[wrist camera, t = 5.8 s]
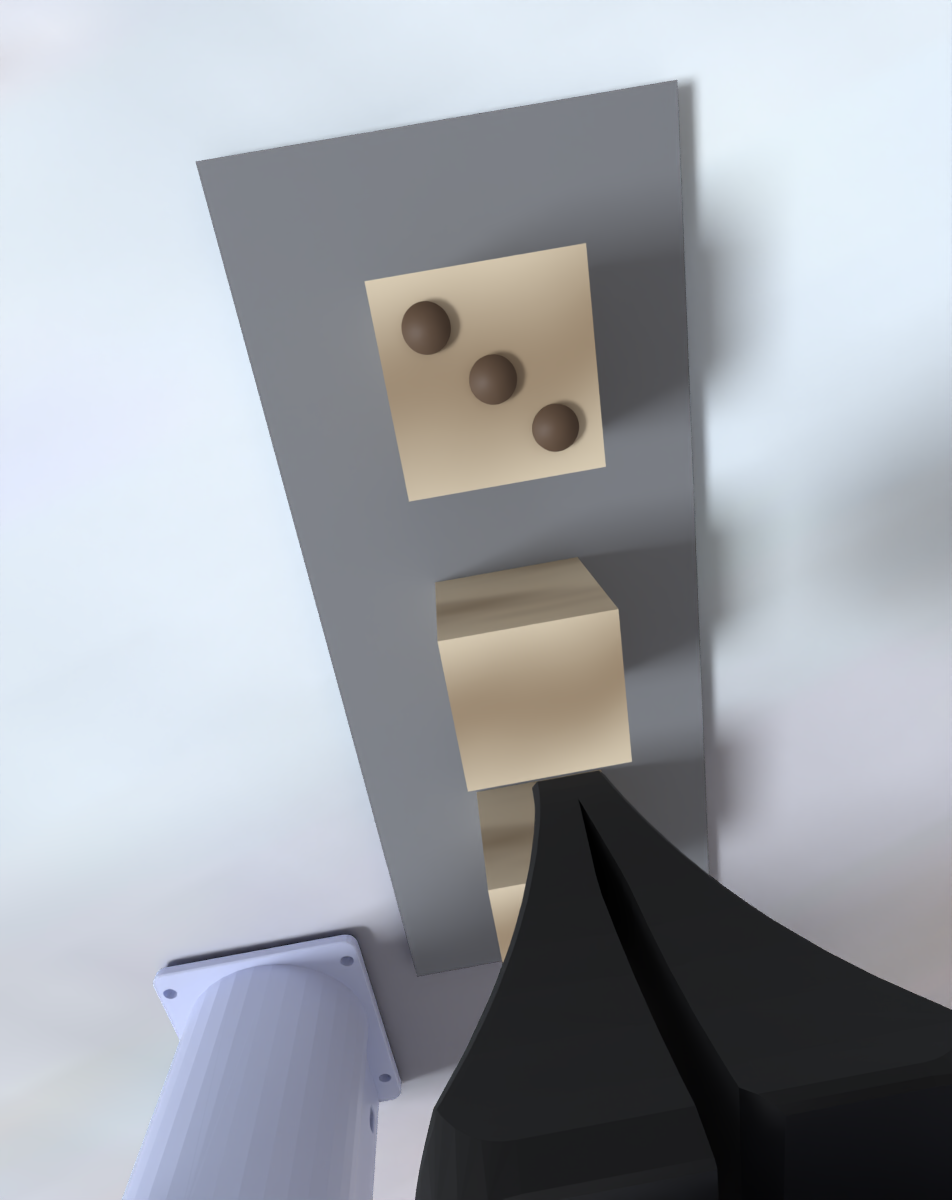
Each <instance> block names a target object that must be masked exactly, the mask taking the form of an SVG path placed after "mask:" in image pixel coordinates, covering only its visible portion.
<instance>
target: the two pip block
mask: <svg viewBox="0 0 952 1200" xmlns="http://www.w3.org/2000/svg"><path fill="white" fill-rule="evenodd" d="M595 771H598V770H595ZM599 771H600V772H602V771H601V770H599ZM590 772H593V771H590ZM584 773H587V772H584ZM579 774H582V773H579ZM573 775H577V774H573ZM568 776H571V775H568ZM562 777H566V776H562ZM557 778H560V777H557ZM551 779H555V778H551ZM546 780H549V779H546ZM541 781H544V780H541ZM536 782H538V781H535V782H530V783H524V784H519V785H513V786H508V787H502V788H497V789H491V790H486V791H480V792H476V793H477V801H478V810H479V818H480V827H481V835H482V844H483V852H484V861H485V869H486V878H487V886H488V893H489V898H490V903H491V908H492V913H493V918H494V922H495V927H496V932H497V937H498V942H499V947H500V952H501V957H502V962H504V959H505V956H506V954H507V951H508V948H509V945H510V942H511V939H512V935H513V932H514V929H515V925H516V922H517V918H518V915H519V911H520V907H521V903H522V899H523V894H524V889H525V885H526V880H527V875H528V870H529V865H530V859H531V851H532V843H533V835H534V821H535V804H534V797H533V791H532V787H533V786H534V785H535V784H536Z"/></svg>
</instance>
